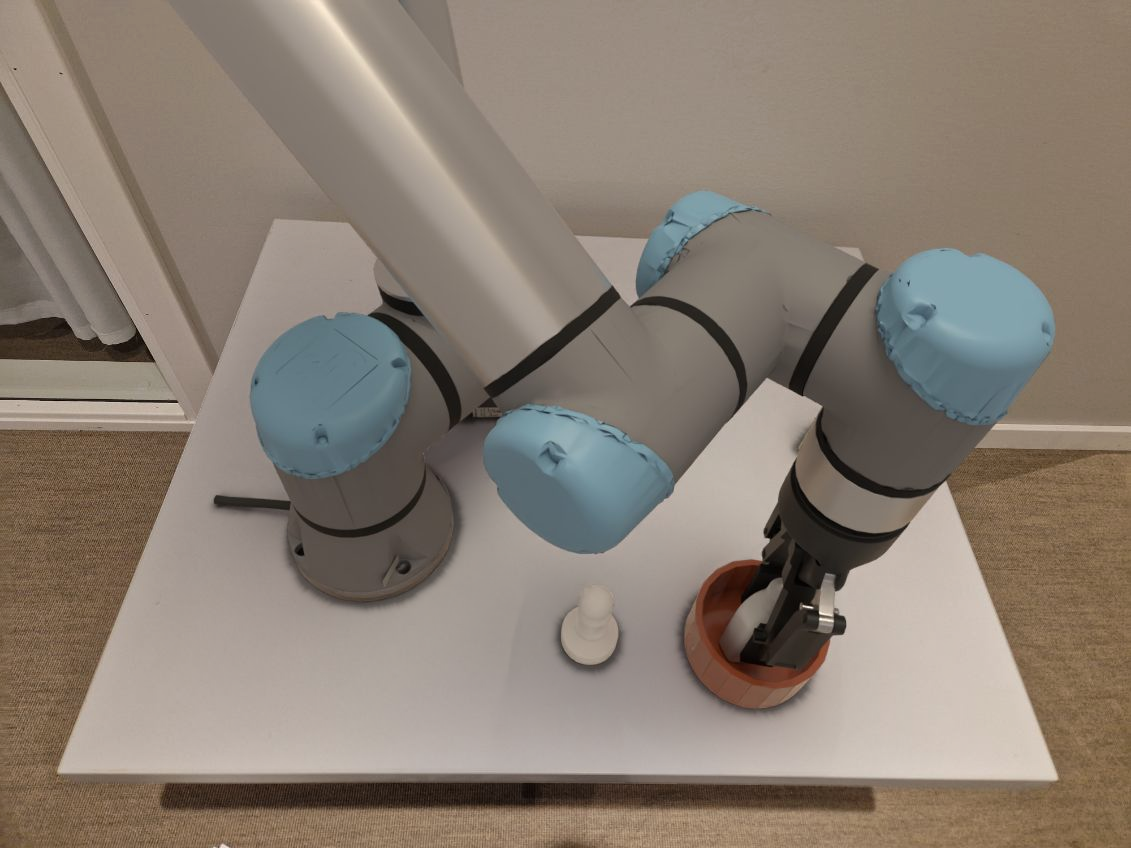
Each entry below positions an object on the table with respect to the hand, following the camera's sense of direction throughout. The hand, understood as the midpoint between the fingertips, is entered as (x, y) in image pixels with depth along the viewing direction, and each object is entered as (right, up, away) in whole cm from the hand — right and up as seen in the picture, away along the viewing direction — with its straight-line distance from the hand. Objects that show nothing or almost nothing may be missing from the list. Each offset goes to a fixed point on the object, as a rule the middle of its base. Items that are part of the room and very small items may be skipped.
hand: (756, 631), depth 63 cm
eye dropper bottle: (0, -2, +2) cm, 3 cm away
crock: (0, -2, +3) cm, 3 cm away
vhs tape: (-22, +22, +19) cm, 36 cm away
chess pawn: (-14, -1, +2) cm, 15 cm away
